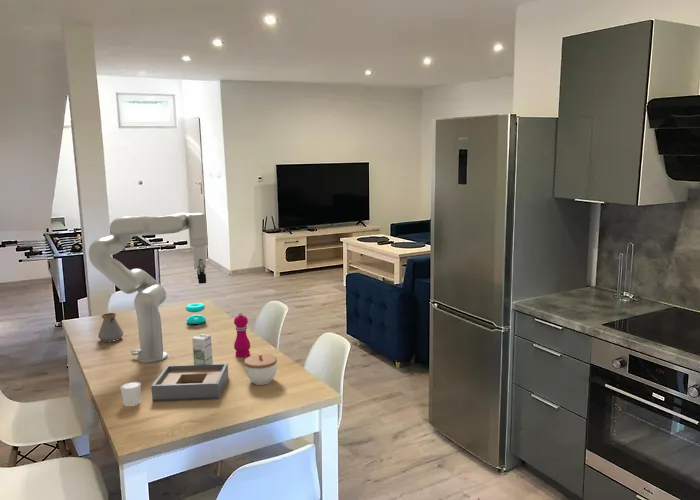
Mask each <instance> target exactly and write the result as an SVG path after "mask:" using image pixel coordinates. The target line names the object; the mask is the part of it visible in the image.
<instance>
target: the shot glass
mask: <svg viewBox="0 0 700 500" xmlns="http://www.w3.org/2000/svg"><path fill="white" fill-rule="evenodd" d="M141 385H142V383H141V382H138V381H129V382H126V383H124V384H122V385H120V392H121V396H122V397H121V398H122V402H123V403H122V404H123V406H124V405H125V406H124V407H126V406H133V407H136V406H138V405H140V404H141V398H142V397H141V396H142V395H141V392H142V391H141V387H142V386H141ZM139 403H140V404H139ZM137 404H138V405H137ZM135 405H136V406H135Z"/></svg>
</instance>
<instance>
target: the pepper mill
mask: <svg viewBox="0 0 700 500" xmlns="http://www.w3.org/2000/svg"><path fill="white" fill-rule="evenodd" d="M248 321H249V319H248V317H247V316H246V315H243V312H241V311H240V312H238V315H237V316H236V317H235V318H234V320H233V324H234V325H235V331H236V336H235V337H236V338H235V341H234V344H233V349H234V350H235V357H236V358H243V359H244V358H248V357H250V356H251V354H250V353H251V352H250V348H251V342H250V340H249V337H248V335H247V329H248V326H247V325H248V323H249V322H248Z"/></svg>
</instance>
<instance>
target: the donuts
mask: <svg viewBox="0 0 700 500" xmlns="http://www.w3.org/2000/svg"><path fill="white" fill-rule="evenodd" d="M205 306H206V305H205V303H203V302H194V303H189V304H187V305H186V306H185V310H186V312H188V313H191V314H192V313H200V312H203V310H205V309H206V308H205ZM206 320H207V319H206V317H205V316H204V315H202V314H193V315H189V316H188V317H187V318H186V323H187V324H188V325H191V324H197V325H201V324H205V322H206Z"/></svg>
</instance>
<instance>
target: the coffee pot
mask: <svg viewBox="0 0 700 500" xmlns="http://www.w3.org/2000/svg"><path fill="white" fill-rule="evenodd" d="M116 316H117V313H115V312H108V313H104V314H102V315H101V318H102V324H101V327H100V329H99V332H98V336H97V337H98V338H99V340H100V341H102V342H103V341H113V340H117V339H119V338H120V339H121V338H122V337H123V336H124V330H123V329H122V327H121V326H120V324H119V323H118V321H117V319H116ZM120 339H119V340H120ZM117 341H118V340H117Z"/></svg>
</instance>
